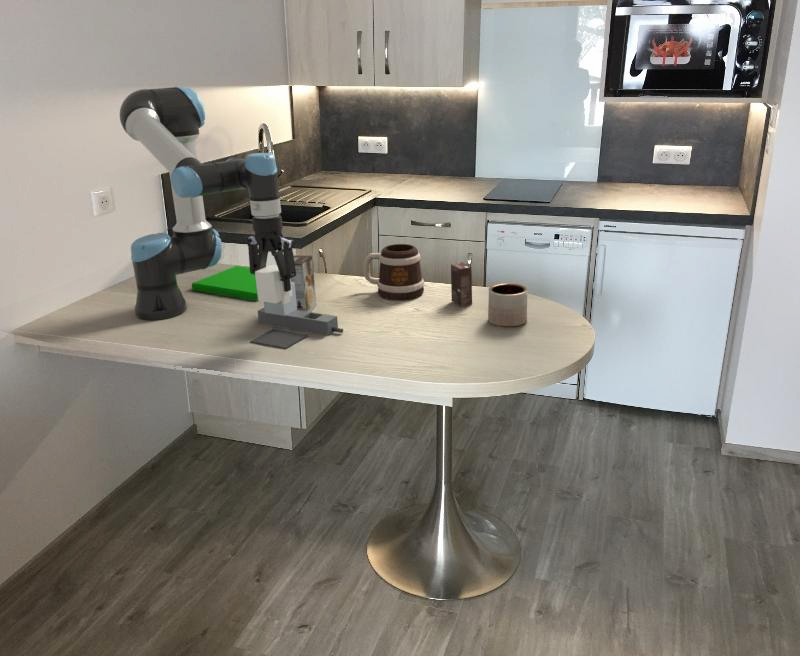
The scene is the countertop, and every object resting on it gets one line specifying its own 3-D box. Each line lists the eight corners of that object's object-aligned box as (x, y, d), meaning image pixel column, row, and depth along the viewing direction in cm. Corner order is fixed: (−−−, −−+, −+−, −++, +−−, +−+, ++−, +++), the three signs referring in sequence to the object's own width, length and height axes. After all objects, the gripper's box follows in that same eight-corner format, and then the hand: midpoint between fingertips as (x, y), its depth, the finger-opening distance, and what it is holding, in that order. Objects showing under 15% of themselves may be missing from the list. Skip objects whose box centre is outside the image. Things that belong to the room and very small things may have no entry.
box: (450, 301, 220) (450, 263, 216) (463, 299, 222) (463, 261, 218) (459, 307, 215) (459, 268, 211) (472, 305, 217) (472, 266, 213)
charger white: (275, 297, 197) (271, 264, 193) (292, 299, 194) (289, 266, 191) (258, 305, 191) (254, 271, 188) (277, 307, 188) (273, 273, 185)
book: (237, 273, 259) (236, 265, 258) (300, 283, 246) (299, 274, 245) (192, 291, 241) (191, 283, 240) (258, 303, 228) (257, 294, 227)
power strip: (259, 323, 208) (257, 309, 207) (269, 318, 213) (268, 304, 211) (337, 337, 196) (336, 322, 195) (347, 331, 200) (346, 316, 199)
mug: (430, 287, 234) (429, 242, 229) (417, 302, 221) (415, 255, 215) (372, 284, 240) (370, 240, 235) (356, 298, 227) (353, 252, 221)
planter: (484, 326, 200) (484, 293, 197) (492, 313, 210) (493, 281, 206) (522, 329, 197) (523, 296, 193) (530, 316, 206) (531, 284, 203)
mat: (250, 342, 195) (250, 341, 195) (273, 330, 203) (272, 328, 203) (286, 349, 190) (286, 347, 190) (308, 336, 198) (307, 334, 198)
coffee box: (297, 304, 223) (292, 254, 217) (317, 305, 222) (312, 255, 216) (287, 315, 215) (281, 263, 209) (307, 315, 213) (302, 263, 207)
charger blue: (265, 316, 206) (261, 285, 202) (278, 310, 211) (274, 279, 207) (285, 320, 203) (281, 288, 199) (297, 313, 207) (294, 282, 204)
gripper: (228, 216, 185) (239, 301, 194) (287, 220, 177) (296, 309, 185) (246, 210, 192) (256, 293, 200) (305, 214, 183) (313, 301, 191)
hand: (275, 301), depth 192 cm, fingers closed on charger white, 6 cm apart
